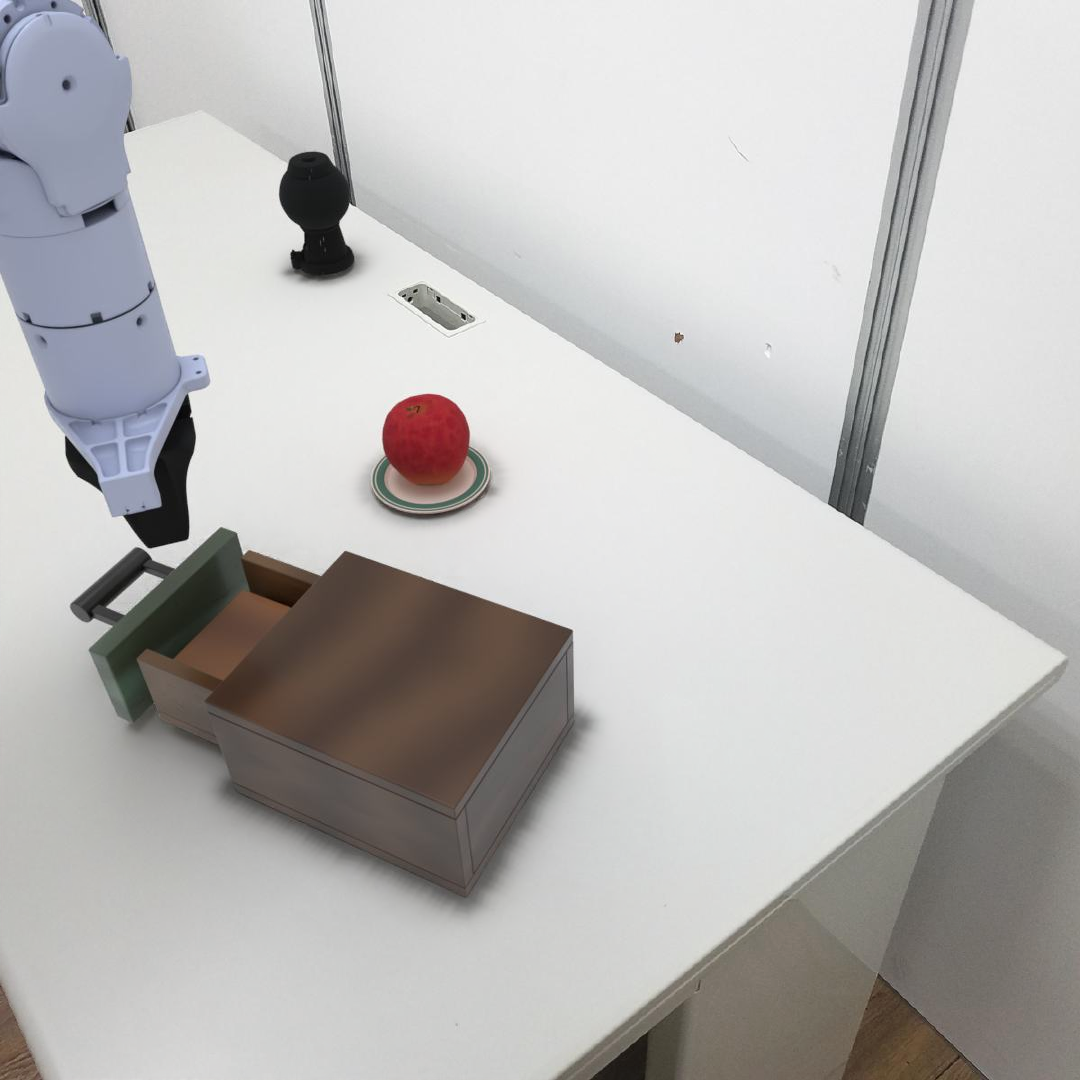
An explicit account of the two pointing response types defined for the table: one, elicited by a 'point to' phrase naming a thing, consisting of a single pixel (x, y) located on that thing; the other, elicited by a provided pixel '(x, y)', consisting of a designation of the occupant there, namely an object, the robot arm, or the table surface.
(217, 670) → the brown rectangular block
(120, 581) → the drawer
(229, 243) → the table surface
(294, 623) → the cabinet
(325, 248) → the gumball machine
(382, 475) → the red apple on plate
